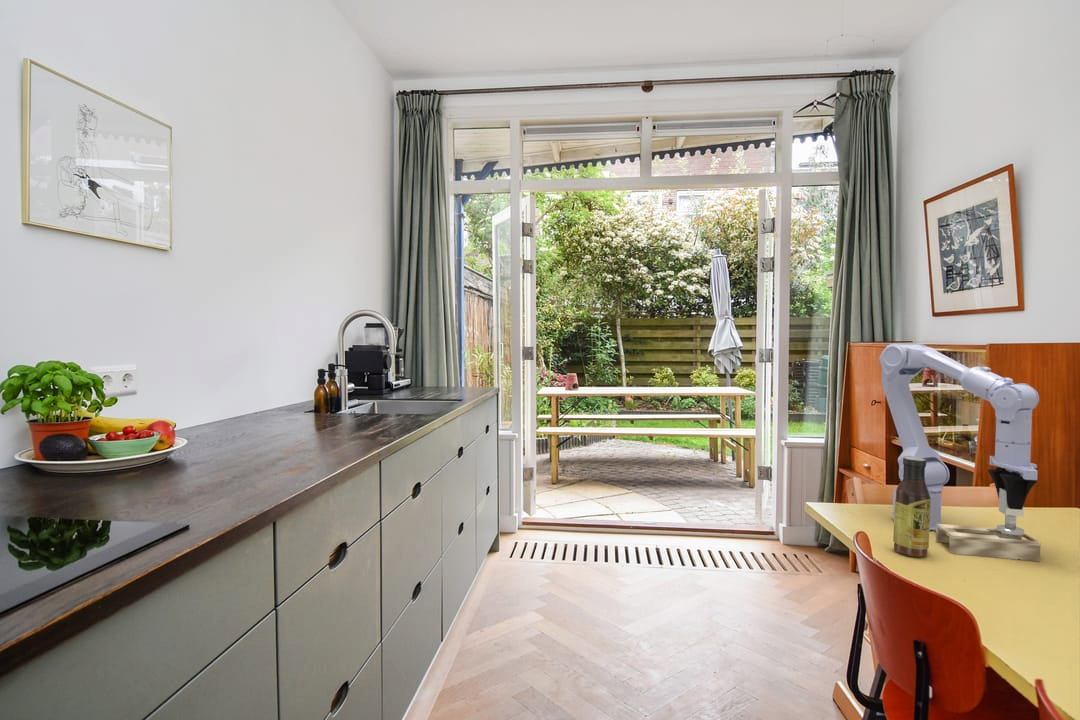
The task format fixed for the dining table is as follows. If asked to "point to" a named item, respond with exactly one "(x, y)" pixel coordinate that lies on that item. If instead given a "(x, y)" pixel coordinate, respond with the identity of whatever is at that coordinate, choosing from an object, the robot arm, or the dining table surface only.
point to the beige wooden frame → (987, 542)
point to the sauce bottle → (912, 510)
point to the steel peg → (1009, 517)
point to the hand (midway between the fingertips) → (1010, 506)
